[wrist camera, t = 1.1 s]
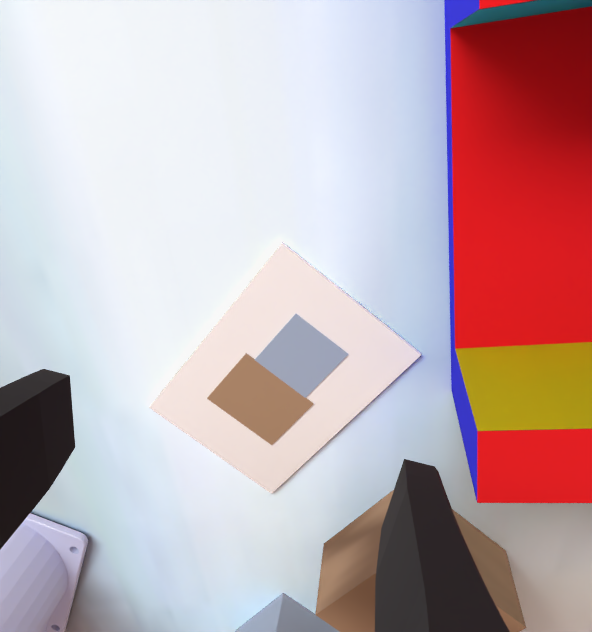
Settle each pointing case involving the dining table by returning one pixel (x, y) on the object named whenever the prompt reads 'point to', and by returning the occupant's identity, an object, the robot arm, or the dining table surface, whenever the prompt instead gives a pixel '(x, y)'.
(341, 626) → the walnut brick
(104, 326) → the dining table surface
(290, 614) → the slate brick
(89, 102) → the dining table surface
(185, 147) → the dining table surface
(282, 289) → the page
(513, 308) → the building blocks toy
